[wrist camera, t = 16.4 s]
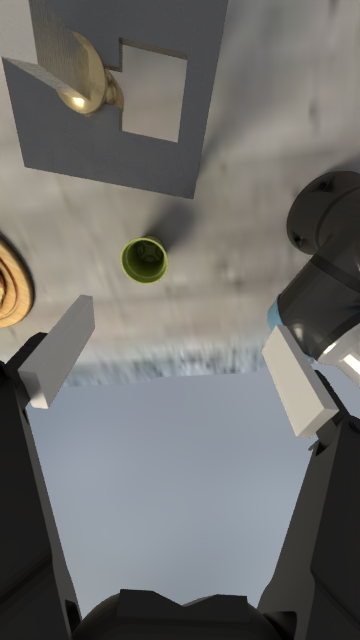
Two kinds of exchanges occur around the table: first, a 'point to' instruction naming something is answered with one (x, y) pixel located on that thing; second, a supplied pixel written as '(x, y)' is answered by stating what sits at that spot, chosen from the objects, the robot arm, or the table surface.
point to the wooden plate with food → (13, 288)
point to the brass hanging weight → (56, 55)
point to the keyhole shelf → (106, 124)
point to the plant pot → (144, 260)
